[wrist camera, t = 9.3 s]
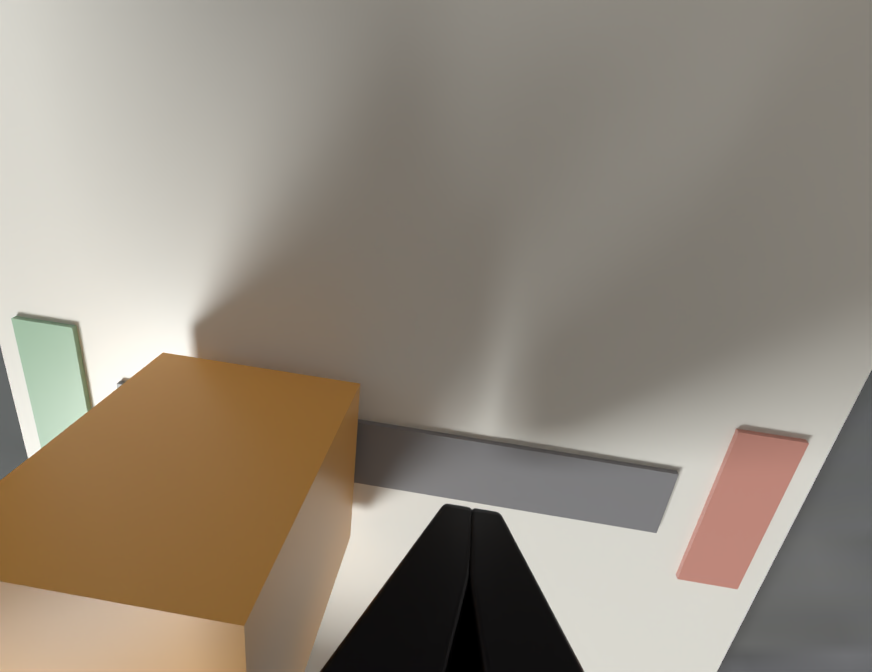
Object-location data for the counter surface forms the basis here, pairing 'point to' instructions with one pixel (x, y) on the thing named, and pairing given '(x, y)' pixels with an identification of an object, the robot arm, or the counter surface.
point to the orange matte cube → (181, 524)
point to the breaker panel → (471, 264)
